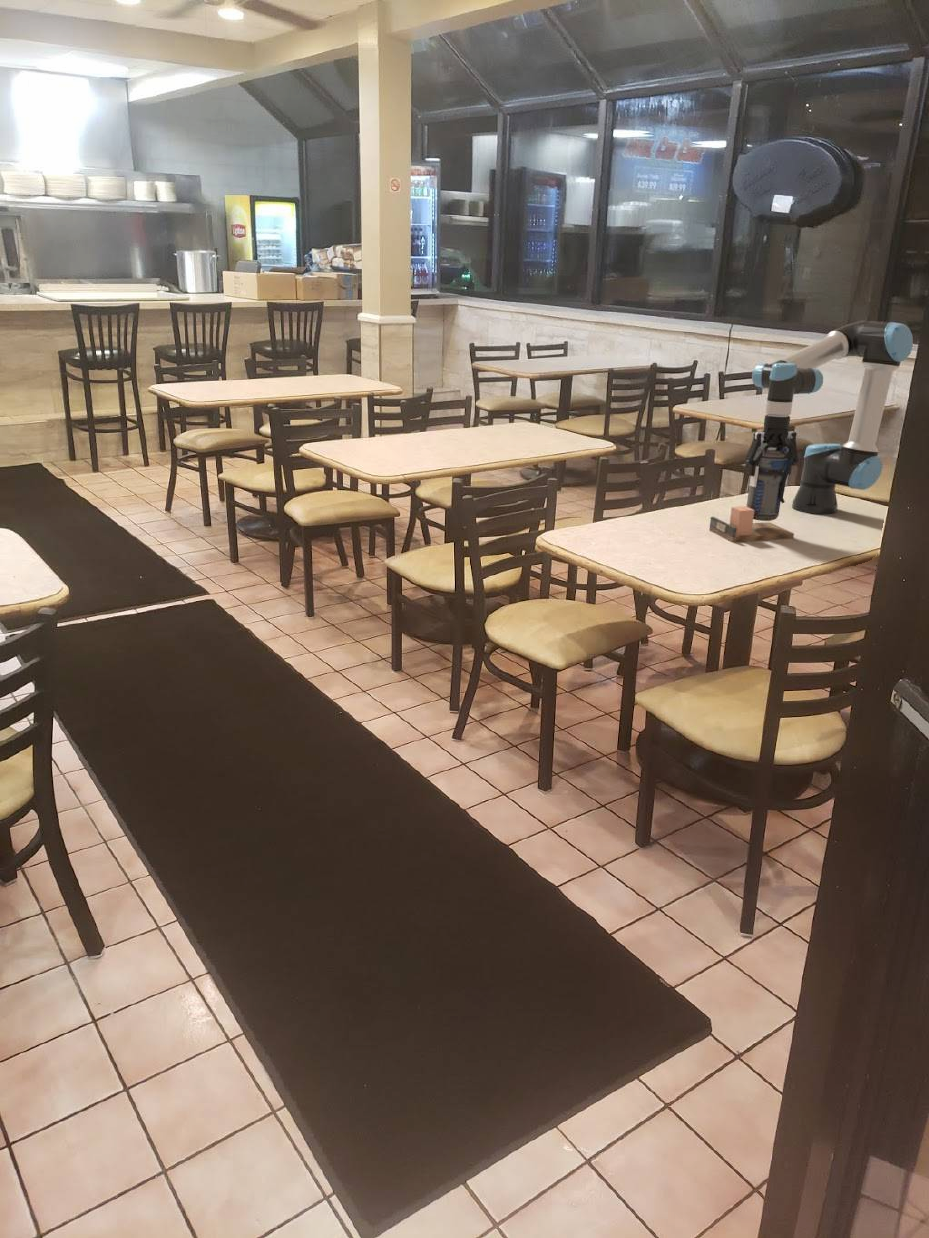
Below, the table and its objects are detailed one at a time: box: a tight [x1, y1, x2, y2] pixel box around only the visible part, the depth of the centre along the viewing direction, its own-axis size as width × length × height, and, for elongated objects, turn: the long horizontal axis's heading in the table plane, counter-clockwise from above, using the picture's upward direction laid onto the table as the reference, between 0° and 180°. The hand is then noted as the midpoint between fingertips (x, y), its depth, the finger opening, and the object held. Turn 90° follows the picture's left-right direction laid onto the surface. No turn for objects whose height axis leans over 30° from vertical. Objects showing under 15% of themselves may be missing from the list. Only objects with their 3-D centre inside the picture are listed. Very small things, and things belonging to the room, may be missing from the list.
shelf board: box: [708, 516, 795, 543], centre depth 305 cm, size 22×14×4 cm, turn 106°
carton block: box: [729, 505, 754, 536], centre depth 300 cm, size 5×5×8 cm
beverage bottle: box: [746, 441, 795, 522], centre depth 301 cm, size 10×13×25 cm
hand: (768, 485), depth 301 cm, fingers closed on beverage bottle, 10 cm apart
